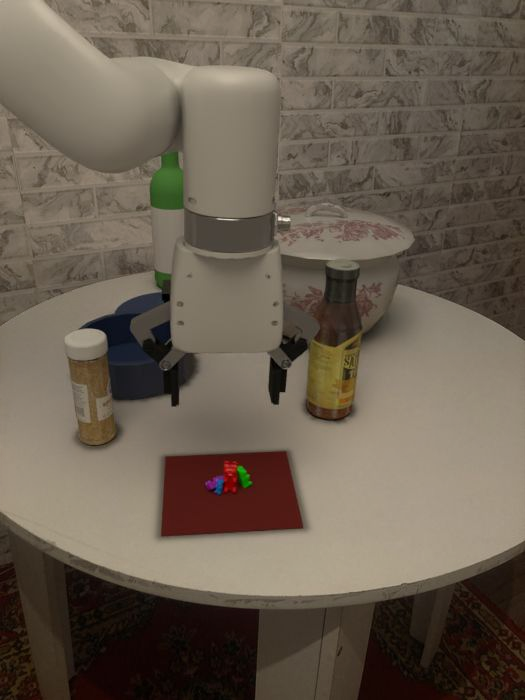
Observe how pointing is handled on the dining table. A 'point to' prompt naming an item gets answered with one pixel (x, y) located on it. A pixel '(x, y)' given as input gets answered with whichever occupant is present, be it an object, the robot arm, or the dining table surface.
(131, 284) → the dining table surface
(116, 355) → the pan
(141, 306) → the lid
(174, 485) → the cloth
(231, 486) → the gummy candies
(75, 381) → the spice jar
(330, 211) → the chamber pot
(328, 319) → the sauce bottle
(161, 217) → the wine bottle
